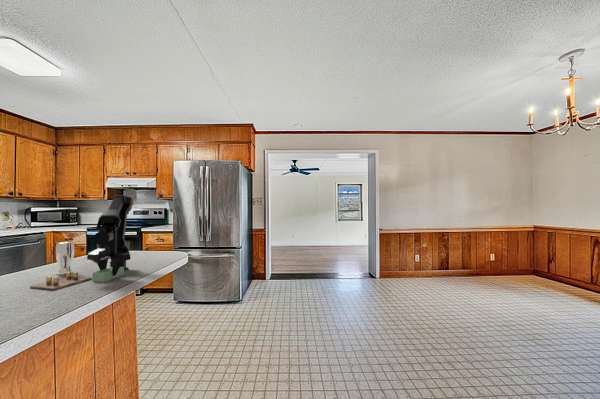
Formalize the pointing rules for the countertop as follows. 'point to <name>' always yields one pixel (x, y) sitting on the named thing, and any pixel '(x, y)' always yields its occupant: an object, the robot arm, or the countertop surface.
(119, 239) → the robot arm
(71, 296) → the countertop surface
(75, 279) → the walnut base plate
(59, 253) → the beer glass
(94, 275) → the green board
